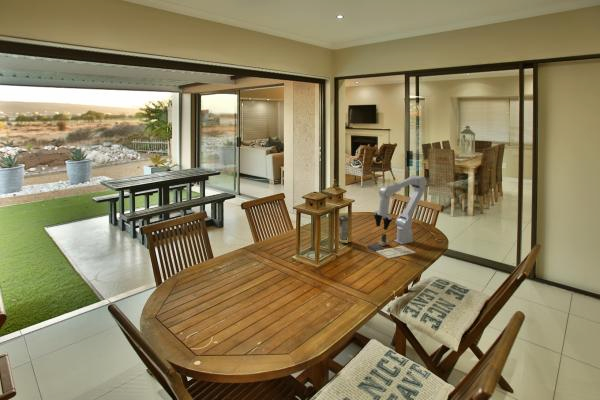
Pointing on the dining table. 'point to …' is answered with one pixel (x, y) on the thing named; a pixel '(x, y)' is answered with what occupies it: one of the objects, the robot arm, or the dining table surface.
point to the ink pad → (374, 247)
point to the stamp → (383, 241)
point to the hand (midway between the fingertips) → (381, 227)
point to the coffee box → (343, 227)
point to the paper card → (395, 252)
